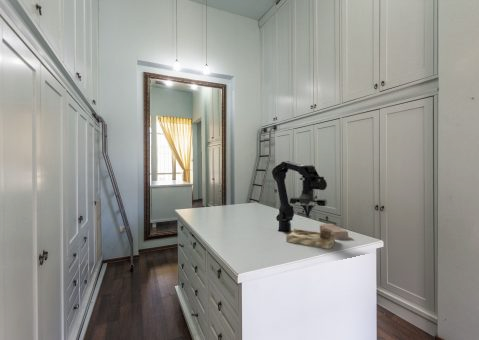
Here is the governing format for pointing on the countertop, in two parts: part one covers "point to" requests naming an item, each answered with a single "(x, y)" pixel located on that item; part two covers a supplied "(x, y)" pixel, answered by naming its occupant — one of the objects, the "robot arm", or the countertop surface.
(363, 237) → the countertop surface
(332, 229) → the brick
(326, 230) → the walnut block
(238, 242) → the countertop surface
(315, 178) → the robot arm
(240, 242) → the countertop surface
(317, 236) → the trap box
